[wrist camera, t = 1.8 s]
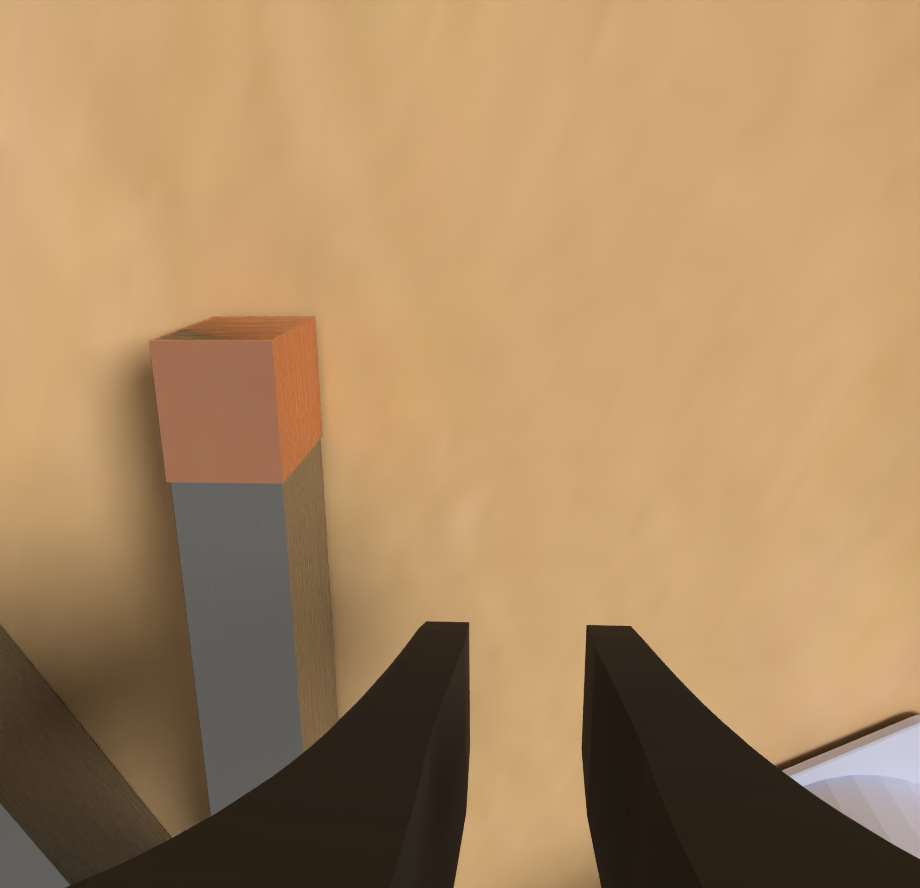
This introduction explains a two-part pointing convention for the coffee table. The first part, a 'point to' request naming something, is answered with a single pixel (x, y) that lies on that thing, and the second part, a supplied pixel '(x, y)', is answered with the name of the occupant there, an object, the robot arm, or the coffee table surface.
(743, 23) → the coffee table surface
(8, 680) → the tongs fixed arm
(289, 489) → the bar
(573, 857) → the coffee table surface
